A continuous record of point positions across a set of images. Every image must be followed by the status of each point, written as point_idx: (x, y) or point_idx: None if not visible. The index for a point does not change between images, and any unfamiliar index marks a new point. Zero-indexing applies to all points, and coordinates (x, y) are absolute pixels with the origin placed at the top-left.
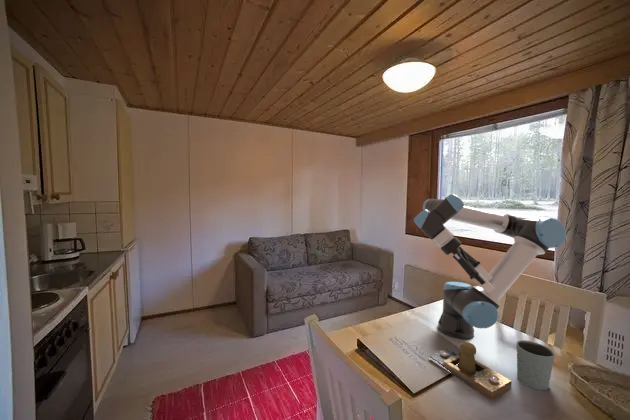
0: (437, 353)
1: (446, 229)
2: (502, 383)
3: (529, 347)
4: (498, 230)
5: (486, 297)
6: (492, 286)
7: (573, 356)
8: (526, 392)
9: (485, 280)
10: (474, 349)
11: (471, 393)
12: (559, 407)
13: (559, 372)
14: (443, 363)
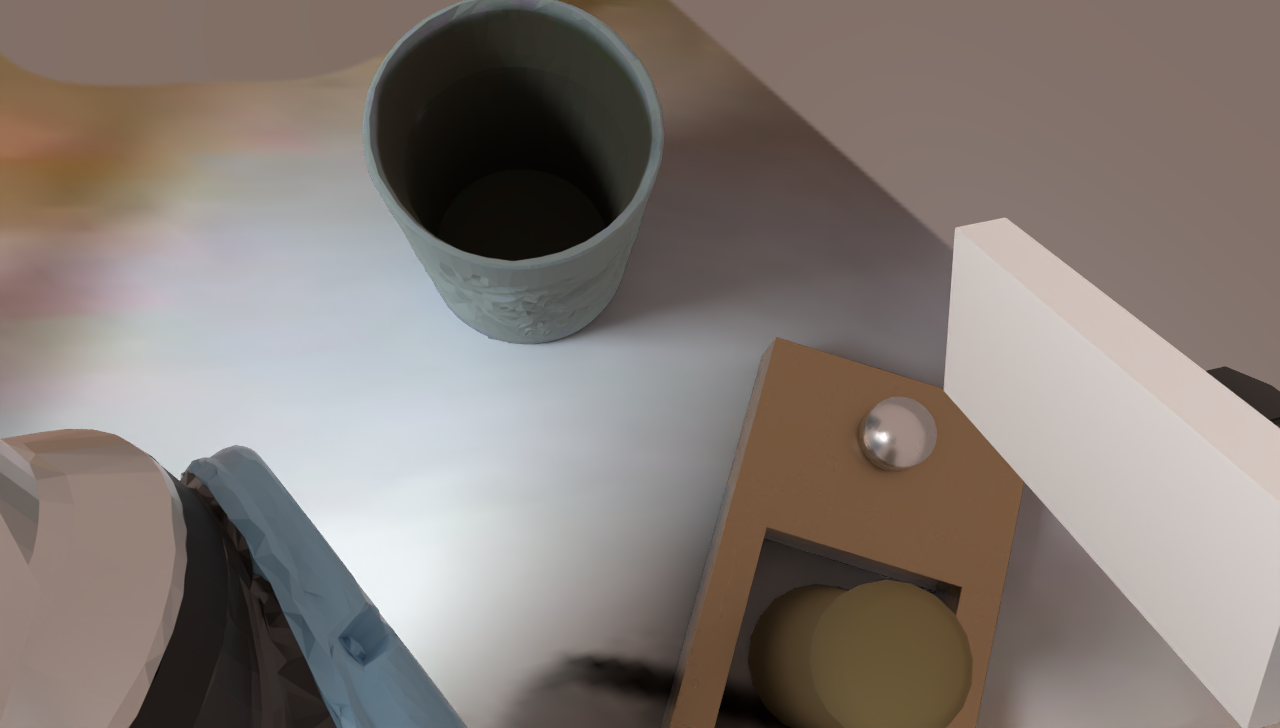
0: None
1: None
2: (869, 382)
3: (402, 196)
4: None
5: (198, 601)
6: (1037, 246)
7: None
8: (712, 272)
9: (1172, 369)
10: (918, 589)
11: (1041, 559)
12: (718, 109)
13: (226, 109)
14: None
